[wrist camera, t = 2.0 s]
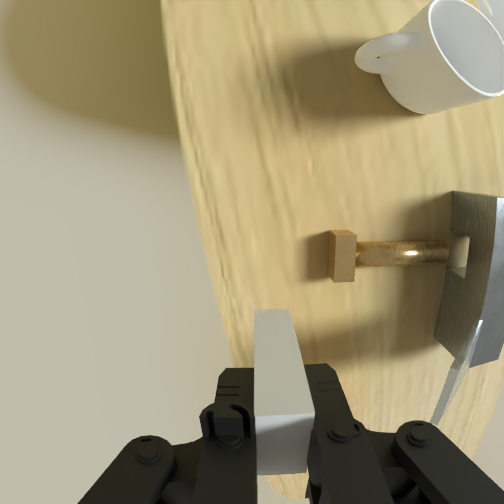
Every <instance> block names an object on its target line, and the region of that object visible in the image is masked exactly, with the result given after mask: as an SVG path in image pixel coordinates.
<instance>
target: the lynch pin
mask: <svg viewBox="0 0 504 504" xmlns="http://www.w3.org/2000/svg"><path fill="white" fill-rule="evenodd" d="M448 258H449V247H448V245H447V243H446V242H445V241H404V242H357V235H356V234H354V233H353V232H351V231H349V230H329V257H328V275H329V276H330V278H331V279H332V281H333V282H354V275H355V267H380V266H404V265H426V264H444V263H446V262H447V260H448Z"/></svg>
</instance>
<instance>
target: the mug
mask: <svg viewBox="0 0 504 504" xmlns="http://www.w3.org/2000/svg"><path fill="white" fill-rule="evenodd" d="M377 57H379V59H377ZM354 59H355V63H356V65H357V66H358V67H359V68H360V69H361V70H363V71H366V72H370V73H376V74H380V76H381V79H382V81H383V84H384V85H385V87H386V89H387V90H388V92H389V93H390V95H391V96H392V97H393V98H394V99H395V100H396V101H397V102H398V103H399V104H401V105H402V106H403V107H405V108H407V109H409V110H410V111H413V112H416V113H419V114H434V113H438V112H442V111H445V110H449V109H452V108H456V107H459V106H463V105H467V104H471V103H474V102H478V101H482V100H486V99H490V98H494V97H498V96H500V95H502V94H504V42H503V41H502V38H501V37H500V35H499V33H498V32H497V30H496V29H495V27H494V26H493V25H492V24H491V23H490V21H489V20H488V19H487V18H486V17H485V16H484V15H483V14H482V13H481V12H480V11H479V10H477V9H476V8H475V7H473V6H472V5H470V4H469V3H467V2H465V1H463V0H432V1H431V2H430V3H429V4H428V5H427V6H426V7H424V8H423V9H422V10H421V11H420V12H419V13H418V14H417V15H416V16H415V17H413V18H412V19H411V20H410V21H409V22H408V23H407V24H406V25H405V26H404V27H403V28H402V29H400V30H399V31H398V32H397V33H390V34H386V35H382V36H379V37H376V38H374V39H372V40H370V41H368V42H366V43H365V44H364V45H362V46H361V47H360V48H359V49H358V50H357V52H356V54H355V57H354Z"/></svg>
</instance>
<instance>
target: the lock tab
mask: <svg viewBox="0 0 504 504" xmlns="http://www.w3.org/2000/svg"><path fill="white" fill-rule="evenodd" d="M482 322H483V320H479V319H476V320H475V322H474V324H473V326H472V328H471V330H470V332H469V334H468V336H467V338H466V340H465V342H464V344H463V346H462V348H461V350H460V351H459V353H458V355H457V357H456V359H455V360H454V362H453V364H452V365H451V367H450V370H449V373H448V376H447V379H446V382H445V385H444V387H443V390H442V393H441V396H440V398H439V401H438V403H437V406H436V408H435V411H434V413H433V416H432V418H431V420H430V423H433V424H435V425H438V424H439V422H440V420H441V419H442V417H443V415H444V414H445V412H446V410H447V409H448V407H449V405H450V403H451V401H452V400H453V398H454V396H455V394H456V392H457V390H458V388H459V386H460V384H461V383H462V381H463V379H464V376H465V374H466V372H467V370H468V368H469V365H470V362H471V359H472V356H473V353H474V350H475V347H476V343H477V340H478V337H479V333H480V329H481V326H482Z"/></svg>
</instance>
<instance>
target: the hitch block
mask: <svg viewBox="0 0 504 504" xmlns="http://www.w3.org/2000/svg"><path fill="white" fill-rule="evenodd" d="M451 231H454V232H457V233H460V234H463V235H466V236H469V237H470V242H469V251H468V259H467V266H466V267H461V268H447V270H446V277H445V283H444V290H443V295H442V301H441V306H440V311H439V316H438V321H437V326H436V330H435V334H434V337H435V338H436V339H437V340H438V341H439V342H440V343H441V344H442V345H443V346H444V347H445V348H446V349H447V350H448V351H449V352H450V353H451V354H452V356H453V357H454V358H455V359H456V357H457V355H458V353H459V351H460V350H461V348H462V346H463V344H464V342H465V340H466V338H467V336H468V334H469V332H470V330H471V328H472V326H473V324H474V322H475V320H476V319H479V320H483V322H482V326H481V329H480V333H479V337H478V340H477V343H476V347H475V350H474V353H473V356H472V359H471V362H470V365H469V368H470V367H474V366H477V365H481V364H484V363H487V362H491V361H494V360H497V359H498V358H499V355H500V352H501V349H502V346H503V343H504V197H500V196H494V195H488V194H479V193H470V192H459V191H453V203H452V221H451Z"/></svg>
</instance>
